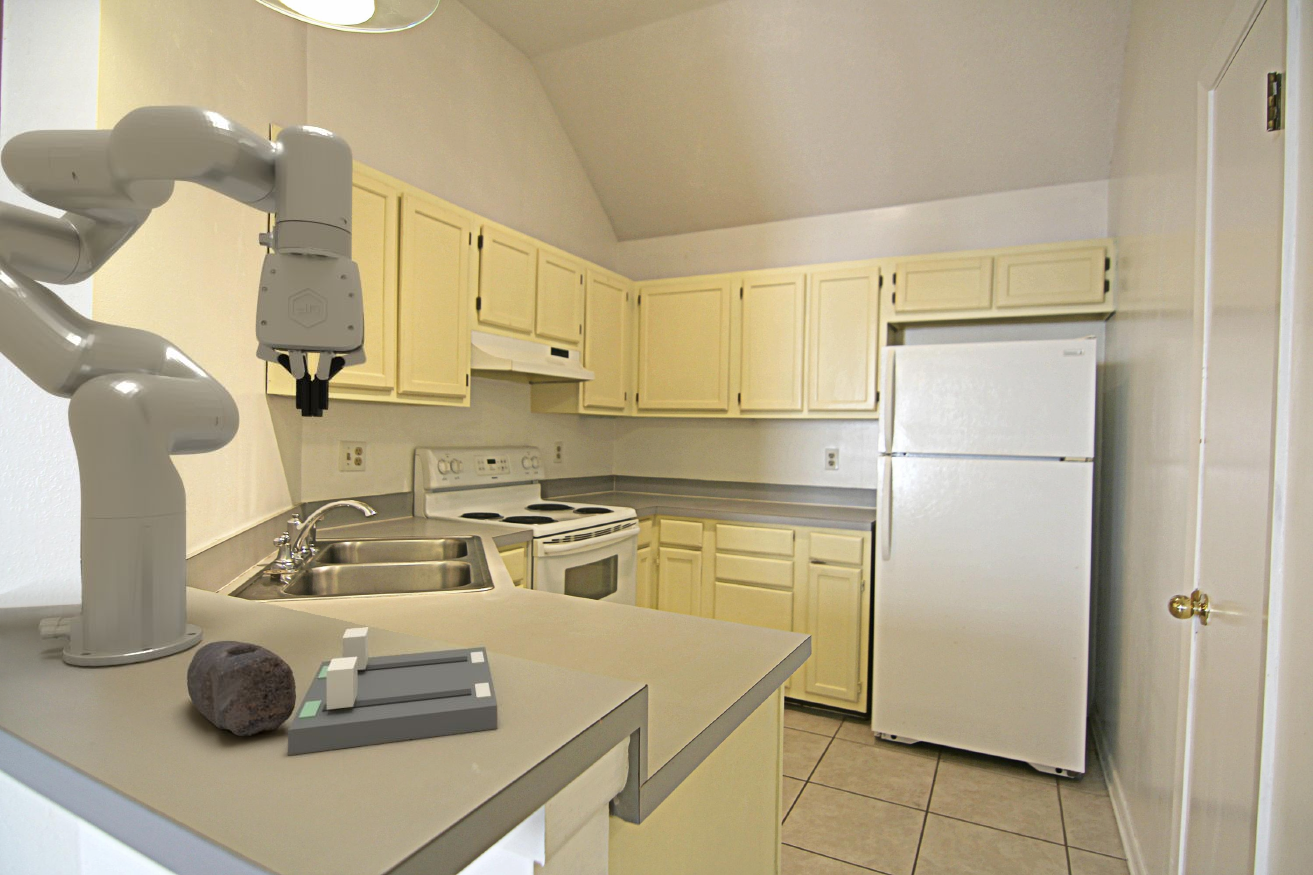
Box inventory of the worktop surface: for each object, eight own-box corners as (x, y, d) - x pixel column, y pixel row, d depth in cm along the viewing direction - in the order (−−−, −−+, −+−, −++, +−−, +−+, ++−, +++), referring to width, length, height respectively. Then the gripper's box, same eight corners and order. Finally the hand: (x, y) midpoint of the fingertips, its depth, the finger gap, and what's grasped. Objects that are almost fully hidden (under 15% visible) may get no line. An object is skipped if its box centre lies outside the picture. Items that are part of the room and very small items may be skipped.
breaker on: (342, 671, 64) (342, 637, 63) (346, 660, 66) (346, 628, 66) (365, 669, 64) (365, 636, 64) (368, 658, 67) (368, 627, 67)
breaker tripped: (326, 709, 55) (326, 670, 55) (332, 695, 58) (332, 658, 58) (353, 706, 56) (353, 668, 56) (357, 692, 58) (357, 656, 58)
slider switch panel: (287, 755, 52) (288, 728, 52) (322, 681, 68) (322, 660, 68) (497, 728, 57) (497, 703, 57) (485, 665, 72) (485, 645, 72)
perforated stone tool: (167, 707, 61) (167, 631, 61) (231, 690, 65) (231, 619, 65) (232, 758, 52) (232, 669, 52) (302, 734, 56) (302, 651, 56)
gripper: (224, 231, 67) (222, 414, 67) (384, 246, 71) (382, 417, 72) (245, 250, 74) (244, 415, 74) (390, 262, 79) (388, 418, 79)
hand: (312, 416), depth 73 cm, fingers closed
